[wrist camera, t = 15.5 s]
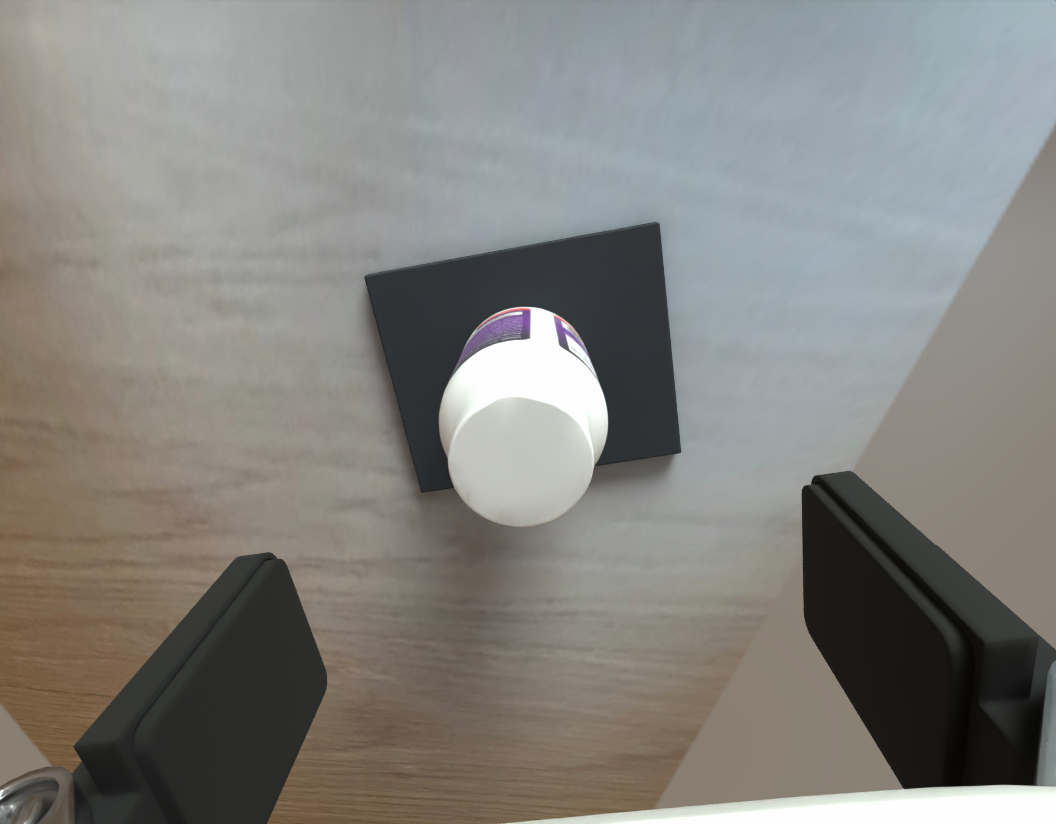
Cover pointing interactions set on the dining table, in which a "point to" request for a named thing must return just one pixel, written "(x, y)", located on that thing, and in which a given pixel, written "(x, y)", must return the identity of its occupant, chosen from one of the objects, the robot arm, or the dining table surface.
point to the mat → (551, 284)
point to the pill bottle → (523, 418)
